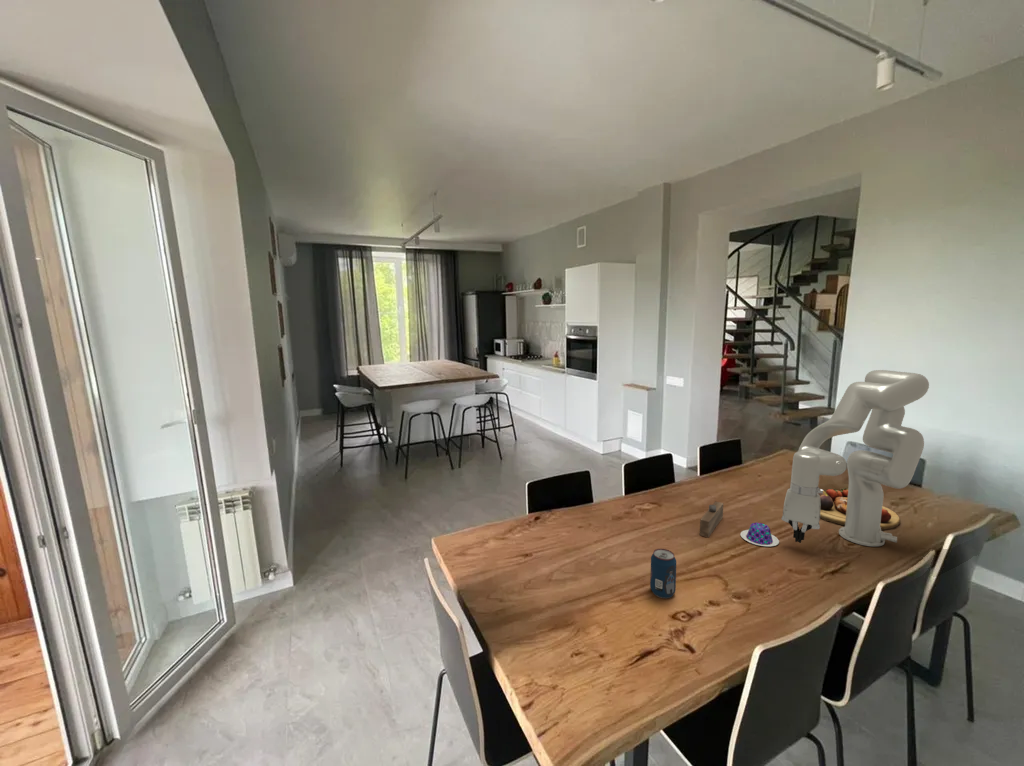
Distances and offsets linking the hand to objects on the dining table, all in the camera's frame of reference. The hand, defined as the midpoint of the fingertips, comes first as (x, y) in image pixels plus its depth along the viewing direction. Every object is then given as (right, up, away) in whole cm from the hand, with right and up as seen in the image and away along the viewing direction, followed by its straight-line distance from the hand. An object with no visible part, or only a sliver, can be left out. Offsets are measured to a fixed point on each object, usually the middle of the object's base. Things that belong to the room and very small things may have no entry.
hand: (798, 540), depth 144 cm
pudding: (-8, -3, +8) cm, 12 cm away
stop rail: (-21, -1, +18) cm, 28 cm away
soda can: (-53, -8, -20) cm, 58 cm away
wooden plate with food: (+38, +1, +28) cm, 47 cm away
